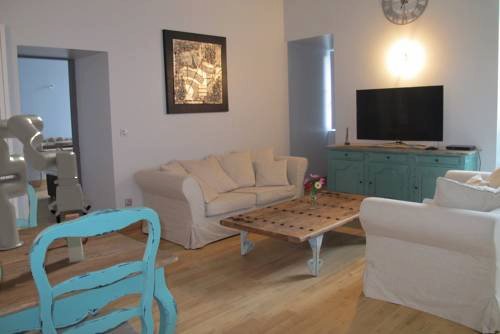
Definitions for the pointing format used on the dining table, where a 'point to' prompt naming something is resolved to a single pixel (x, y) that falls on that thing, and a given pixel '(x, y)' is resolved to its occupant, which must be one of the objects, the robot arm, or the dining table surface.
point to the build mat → (77, 261)
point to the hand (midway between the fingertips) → (72, 223)
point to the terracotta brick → (71, 217)
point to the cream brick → (76, 254)
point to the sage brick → (74, 242)
